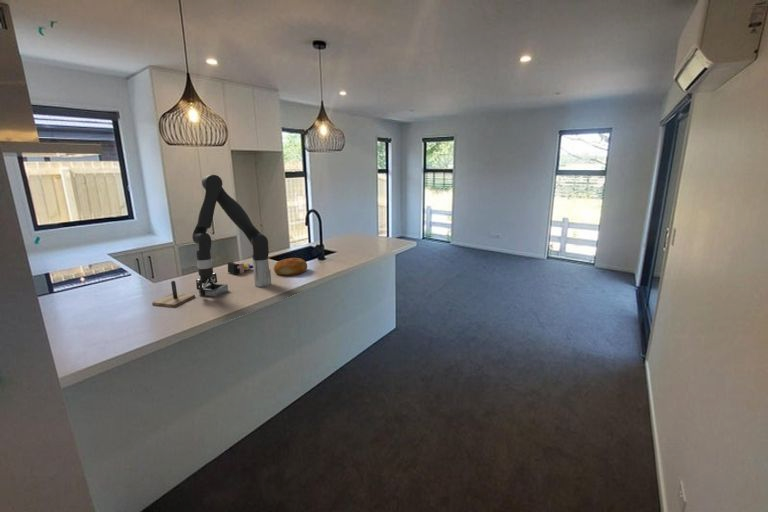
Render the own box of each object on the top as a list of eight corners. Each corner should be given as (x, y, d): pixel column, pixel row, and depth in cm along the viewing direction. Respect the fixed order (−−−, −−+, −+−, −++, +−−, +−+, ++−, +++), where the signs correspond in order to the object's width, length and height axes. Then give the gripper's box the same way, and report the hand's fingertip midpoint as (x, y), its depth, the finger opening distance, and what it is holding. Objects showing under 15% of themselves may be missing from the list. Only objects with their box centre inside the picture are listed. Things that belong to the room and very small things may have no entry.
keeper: (195, 297, 197) (192, 278, 194) (174, 307, 183) (171, 286, 180) (174, 295, 200) (171, 276, 197) (152, 304, 186) (149, 284, 183)
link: (228, 290, 208) (227, 284, 207) (216, 297, 198) (215, 290, 197) (212, 289, 210) (211, 283, 209) (199, 295, 200) (198, 289, 199)
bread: (274, 268, 254) (273, 255, 252) (306, 266, 261) (305, 254, 258) (274, 278, 233) (273, 264, 231) (309, 275, 240) (308, 261, 237)
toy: (255, 262, 247) (235, 265, 235) (254, 272, 248) (235, 274, 236) (245, 260, 254) (226, 262, 242) (245, 269, 255) (226, 271, 243)
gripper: (202, 270, 188) (205, 298, 192) (219, 263, 201) (222, 289, 205) (190, 269, 189) (193, 297, 193) (207, 262, 203) (210, 288, 207)
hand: (208, 293), depth 199 cm, fingers open, 8 cm apart
